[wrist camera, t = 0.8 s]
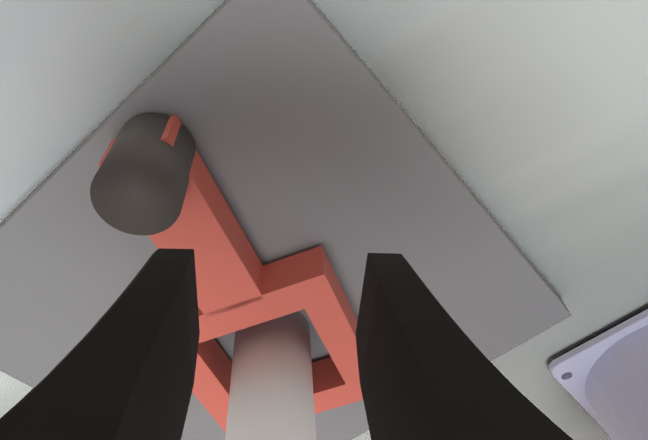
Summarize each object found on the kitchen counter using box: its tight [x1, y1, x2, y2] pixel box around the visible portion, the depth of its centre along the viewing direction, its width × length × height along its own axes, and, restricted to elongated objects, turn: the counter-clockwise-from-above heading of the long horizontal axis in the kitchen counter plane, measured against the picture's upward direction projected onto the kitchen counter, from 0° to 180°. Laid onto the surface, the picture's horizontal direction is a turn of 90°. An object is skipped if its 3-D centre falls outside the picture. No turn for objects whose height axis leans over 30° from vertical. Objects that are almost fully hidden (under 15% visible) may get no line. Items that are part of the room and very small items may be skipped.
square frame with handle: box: [90, 113, 363, 433], centre depth 19 cm, size 14×7×3 cm, turn 21°
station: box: [0, 0, 571, 440], centre depth 20 cm, size 18×19×7 cm
